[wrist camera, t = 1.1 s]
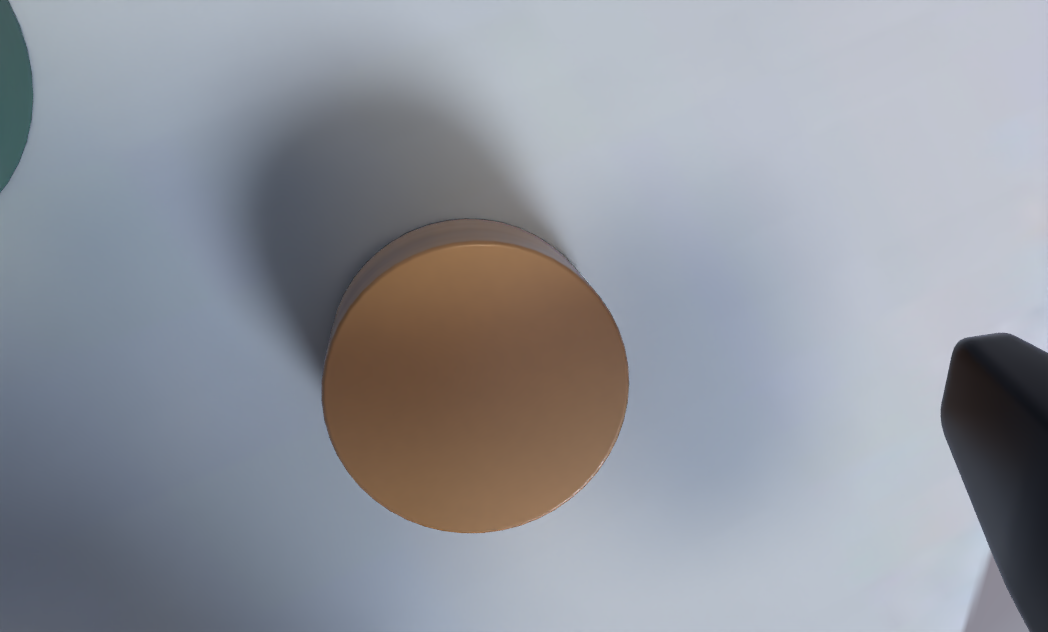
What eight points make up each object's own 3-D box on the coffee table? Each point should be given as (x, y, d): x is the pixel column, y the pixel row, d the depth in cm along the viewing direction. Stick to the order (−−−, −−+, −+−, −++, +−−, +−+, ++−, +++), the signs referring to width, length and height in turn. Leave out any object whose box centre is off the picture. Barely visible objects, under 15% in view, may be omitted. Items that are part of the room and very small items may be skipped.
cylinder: (617, 454, 21) (645, 504, 19) (358, 502, 21) (353, 560, 18) (584, 197, 20) (610, 216, 17) (304, 243, 19) (292, 269, 17)
